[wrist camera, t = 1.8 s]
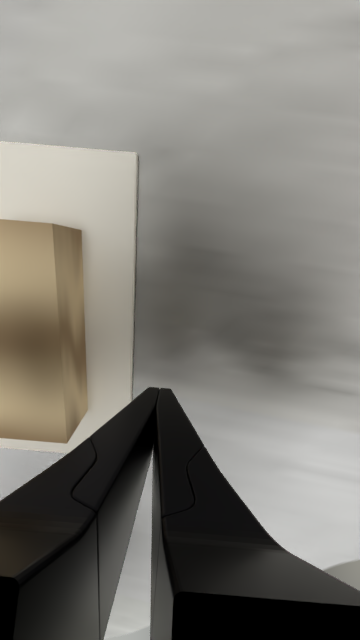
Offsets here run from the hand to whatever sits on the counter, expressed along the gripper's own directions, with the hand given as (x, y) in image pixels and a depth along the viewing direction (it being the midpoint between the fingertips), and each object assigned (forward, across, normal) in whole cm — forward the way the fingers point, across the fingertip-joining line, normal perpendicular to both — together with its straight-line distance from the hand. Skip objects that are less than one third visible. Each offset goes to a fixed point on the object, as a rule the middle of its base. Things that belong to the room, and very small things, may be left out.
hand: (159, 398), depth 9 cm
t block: (+6, +11, 0) cm, 13 cm away
